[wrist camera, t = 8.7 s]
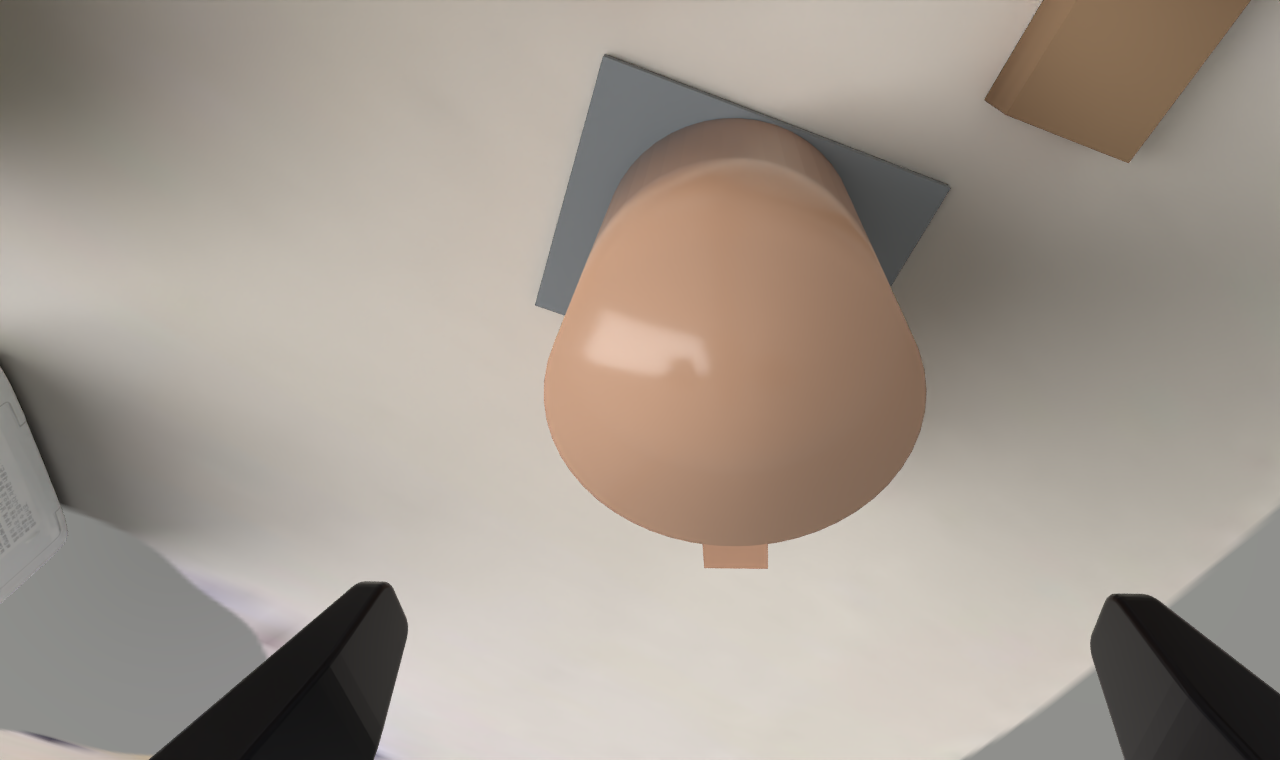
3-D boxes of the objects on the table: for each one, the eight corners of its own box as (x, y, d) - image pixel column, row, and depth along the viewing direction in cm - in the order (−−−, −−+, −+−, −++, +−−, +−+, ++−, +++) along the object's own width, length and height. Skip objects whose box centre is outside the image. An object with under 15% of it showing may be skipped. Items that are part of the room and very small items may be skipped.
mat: (605, 54, 16) (603, 56, 16) (947, 184, 17) (950, 188, 17) (536, 300, 20) (534, 305, 20) (818, 396, 21) (819, 402, 21)
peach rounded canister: (587, 129, 17) (508, 251, 11) (864, 106, 16) (954, 226, 10) (631, 439, 22) (595, 640, 16) (839, 436, 21) (887, 647, 15)
